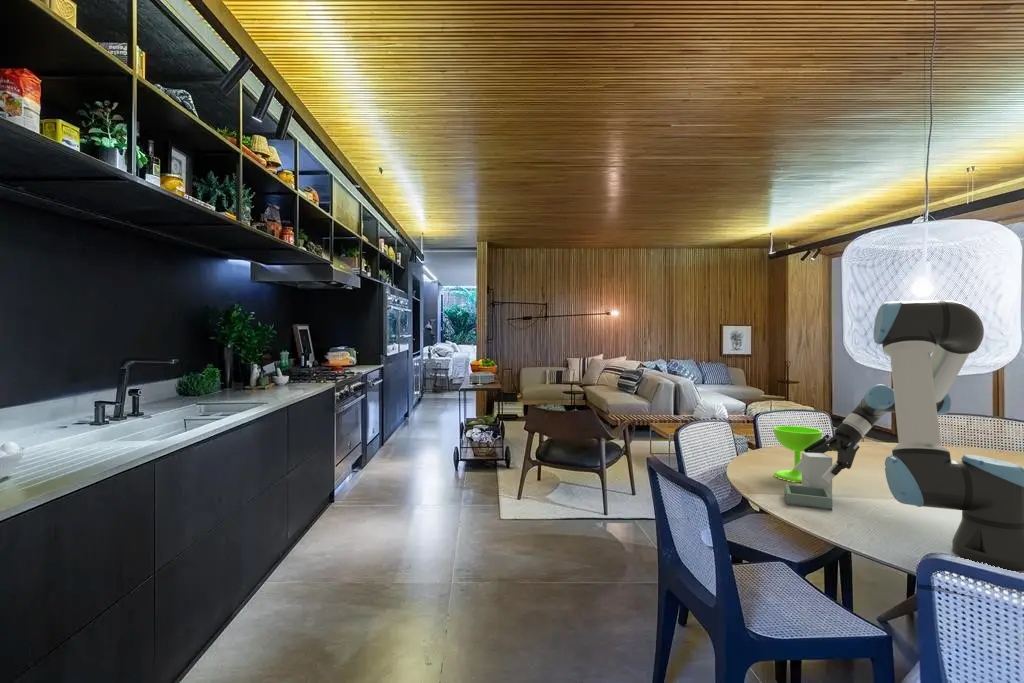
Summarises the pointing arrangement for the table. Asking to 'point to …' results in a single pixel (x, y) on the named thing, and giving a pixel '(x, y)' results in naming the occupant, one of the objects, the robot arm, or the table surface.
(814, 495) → the holder
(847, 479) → the table surface
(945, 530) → the table surface
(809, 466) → the supplement box
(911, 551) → the table surface
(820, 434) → the wineglass
